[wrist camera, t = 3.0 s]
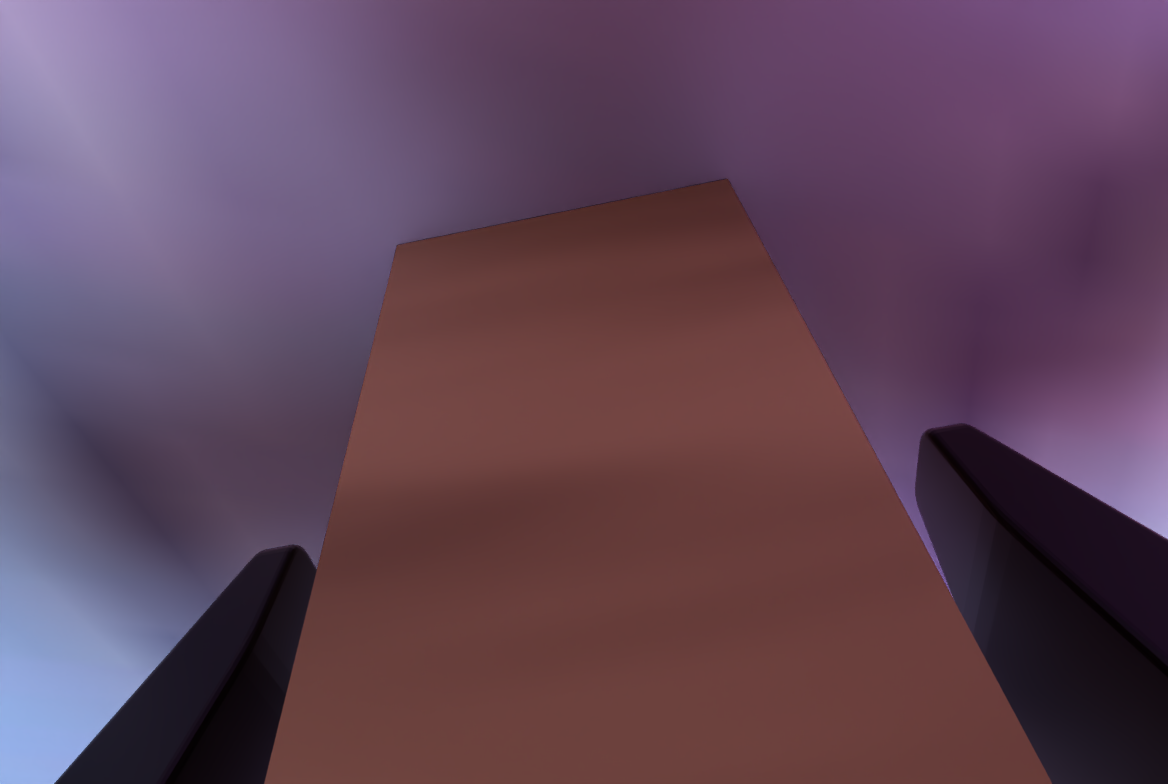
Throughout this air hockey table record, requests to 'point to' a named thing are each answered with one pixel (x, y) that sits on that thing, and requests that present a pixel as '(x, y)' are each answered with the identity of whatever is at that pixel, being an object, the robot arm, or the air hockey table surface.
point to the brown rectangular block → (624, 535)
